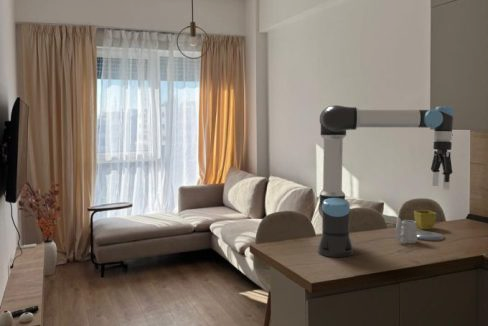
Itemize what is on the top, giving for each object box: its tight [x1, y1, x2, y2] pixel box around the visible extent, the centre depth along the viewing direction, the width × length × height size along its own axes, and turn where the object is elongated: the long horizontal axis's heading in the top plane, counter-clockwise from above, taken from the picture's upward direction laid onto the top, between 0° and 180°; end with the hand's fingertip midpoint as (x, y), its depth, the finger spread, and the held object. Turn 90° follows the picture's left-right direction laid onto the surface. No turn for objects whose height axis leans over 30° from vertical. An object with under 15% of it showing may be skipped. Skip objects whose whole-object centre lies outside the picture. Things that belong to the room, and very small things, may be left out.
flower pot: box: [413, 209, 438, 230], centre depth 247 cm, size 9×9×9 cm
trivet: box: [416, 230, 444, 242], centre depth 229 cm, size 15×15×1 cm
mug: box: [394, 217, 418, 244], centre depth 220 cm, size 8×12×12 cm, turn 112°
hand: (440, 187), depth 210 cm, fingers open, 13 cm apart
